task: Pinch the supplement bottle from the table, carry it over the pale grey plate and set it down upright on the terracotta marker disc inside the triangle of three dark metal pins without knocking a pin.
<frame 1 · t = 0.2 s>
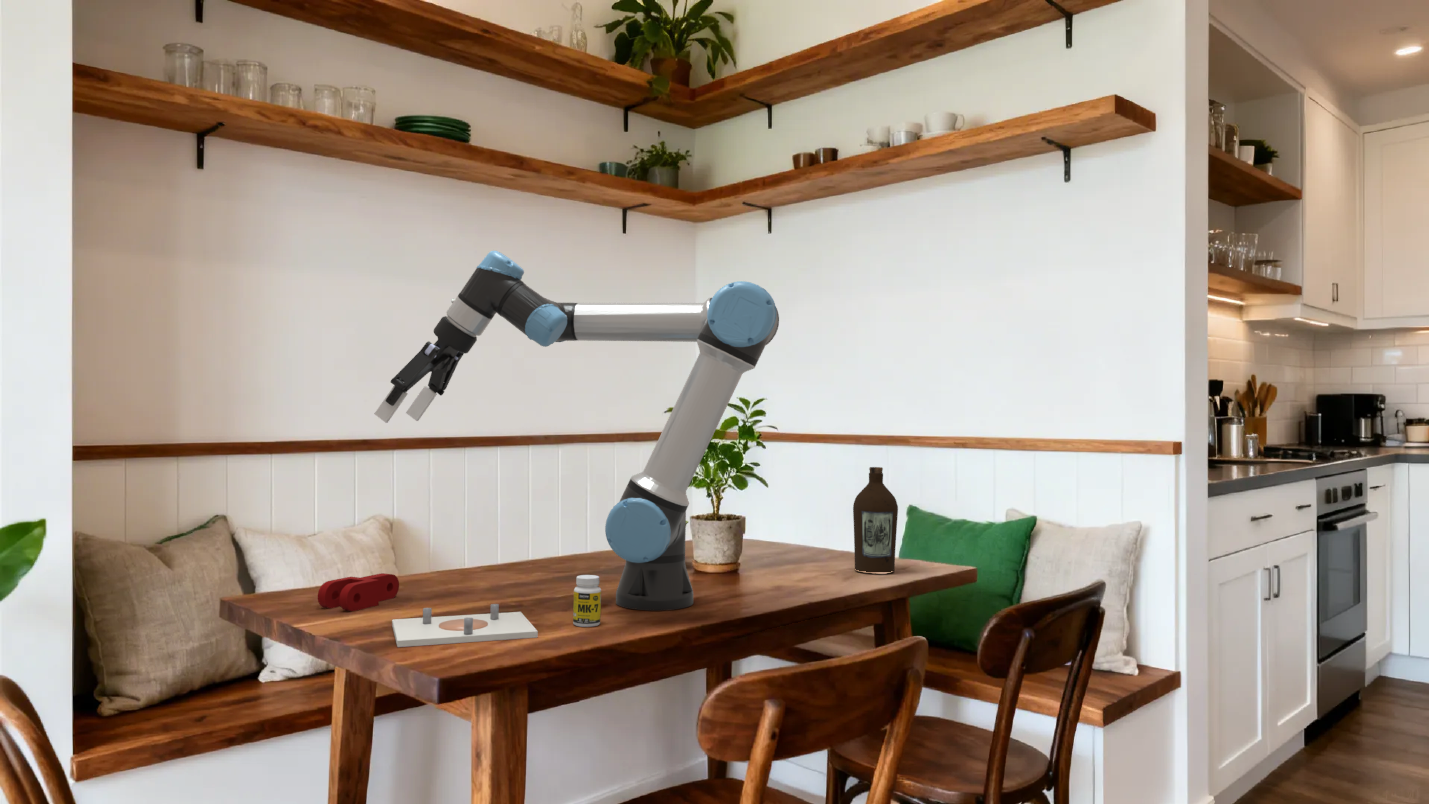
hand: (396, 417, 180), 36 cm above the table, tool tilted 35°, fingers open, 13 cm apart
plant pot: (663, 568, 230), on the table
mechanical linkage: (364, 605, 182), on the table
supplement bottle: (586, 625, 168), on the table
pin plate: (463, 631, 161), on the table
olive oil: (874, 572, 229), on the table
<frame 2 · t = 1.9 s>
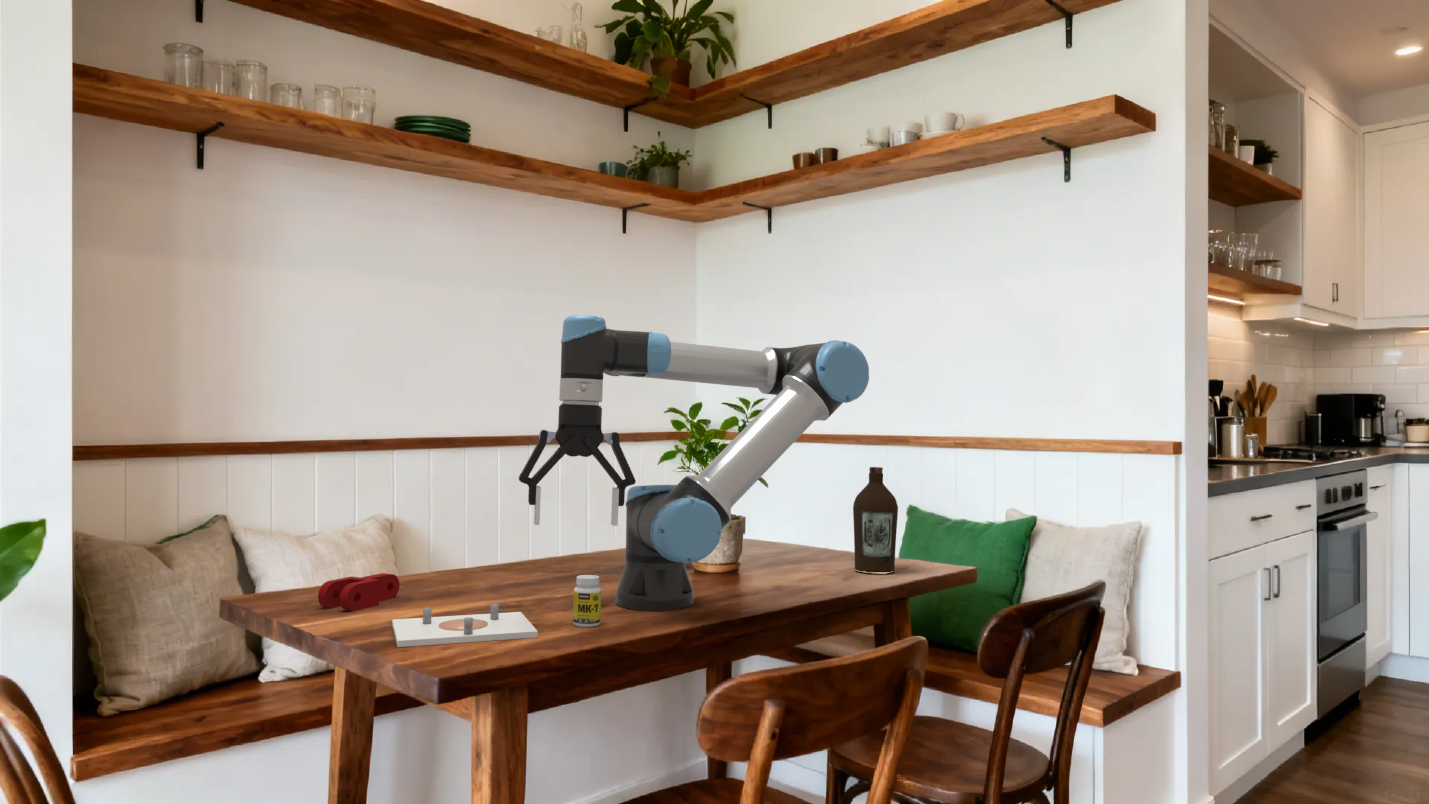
hand: (575, 524, 168), 17 cm above the table, tool pointing down, fingers open, 13 cm apart
nothing on the table moved.
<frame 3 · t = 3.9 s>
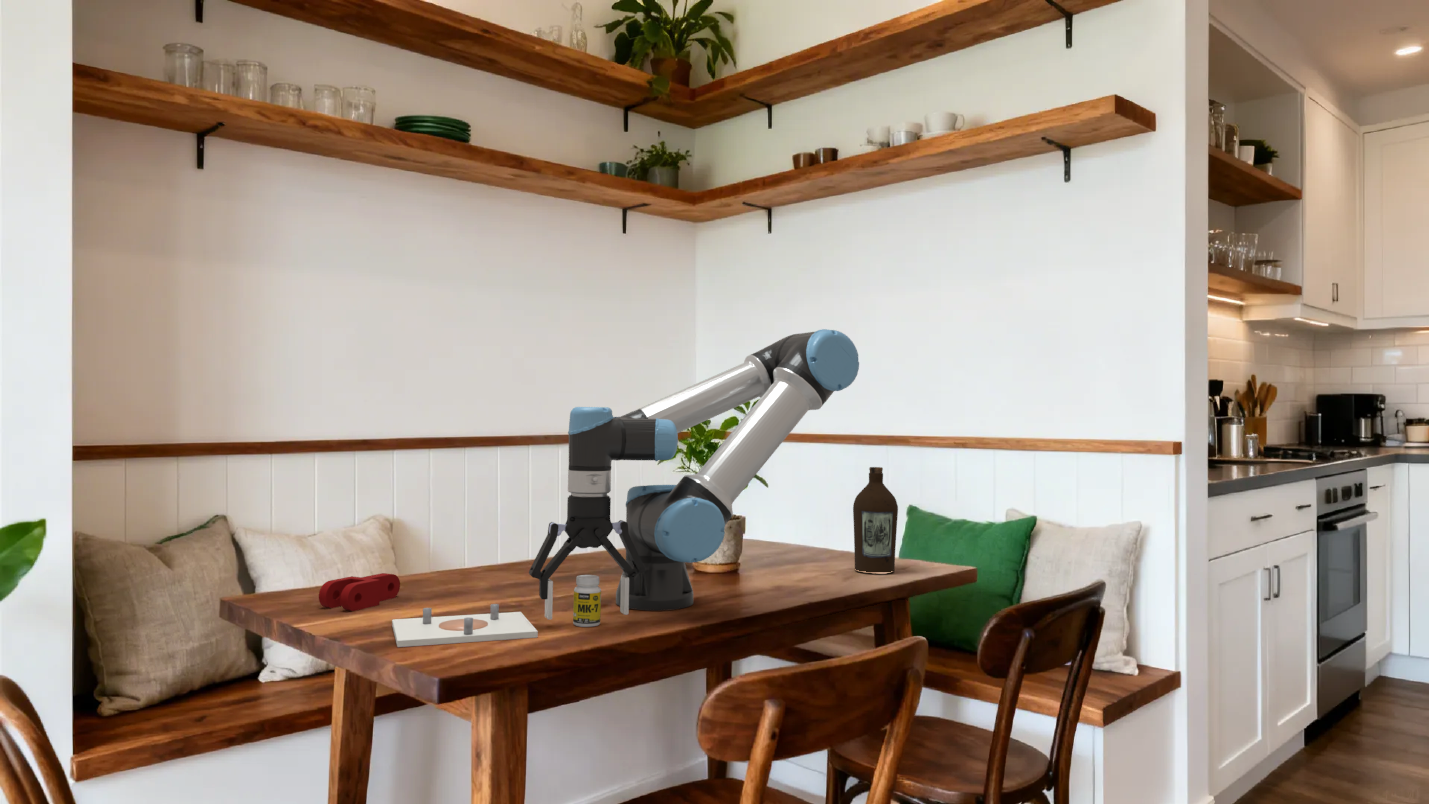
hand: (586, 615, 168), 2 cm above the table, tool pointing down, fingers open, 13 cm apart
nothing on the table moved.
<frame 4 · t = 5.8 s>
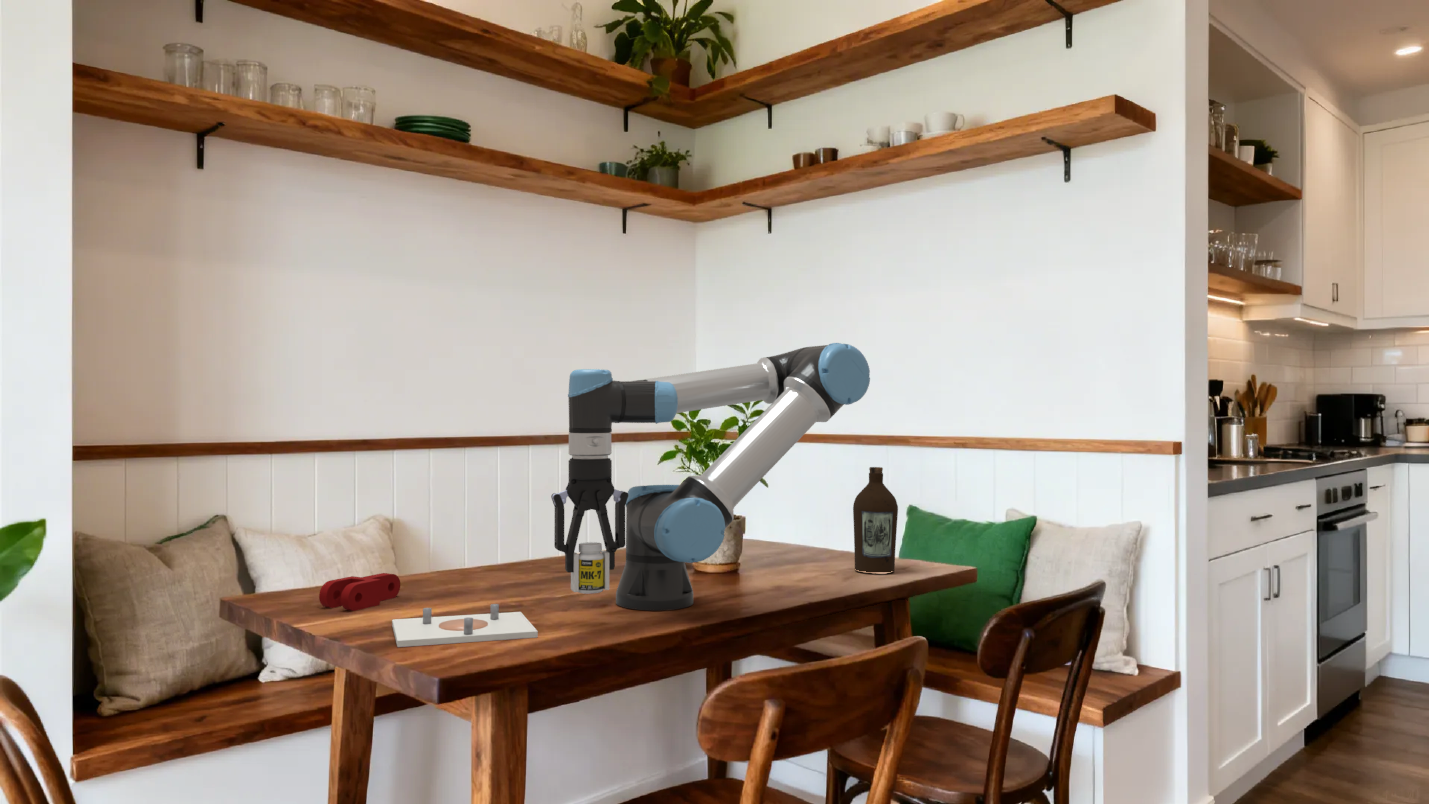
hand: (590, 589, 168), 6 cm above the table, tool pointing down, fingers closed on supplement bottle, 5 cm apart
supplement bottle: (590, 592, 168), point 6 cm above the table, touching gripper
everything else where it was.
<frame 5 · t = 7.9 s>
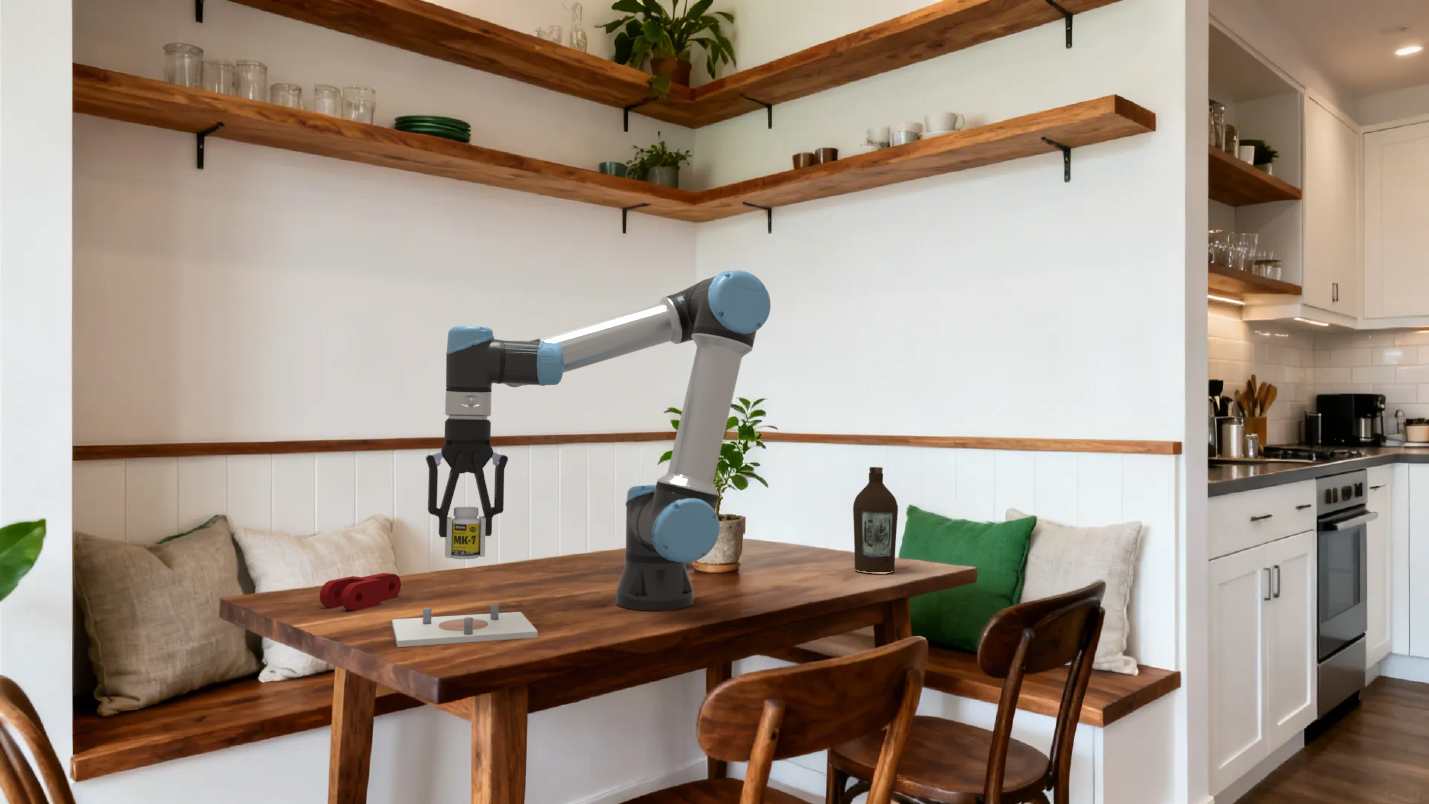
hand: (464, 555, 161), 13 cm above the table, tool pointing down, fingers closed on supplement bottle, 5 cm apart
supplement bottle: (464, 558, 161), point 12 cm above the table, touching gripper
everything else where it was.
when the fingers open (2 cm above the table, at t = 10.4 s): supplement bottle stays where it is, resting on pin plate.
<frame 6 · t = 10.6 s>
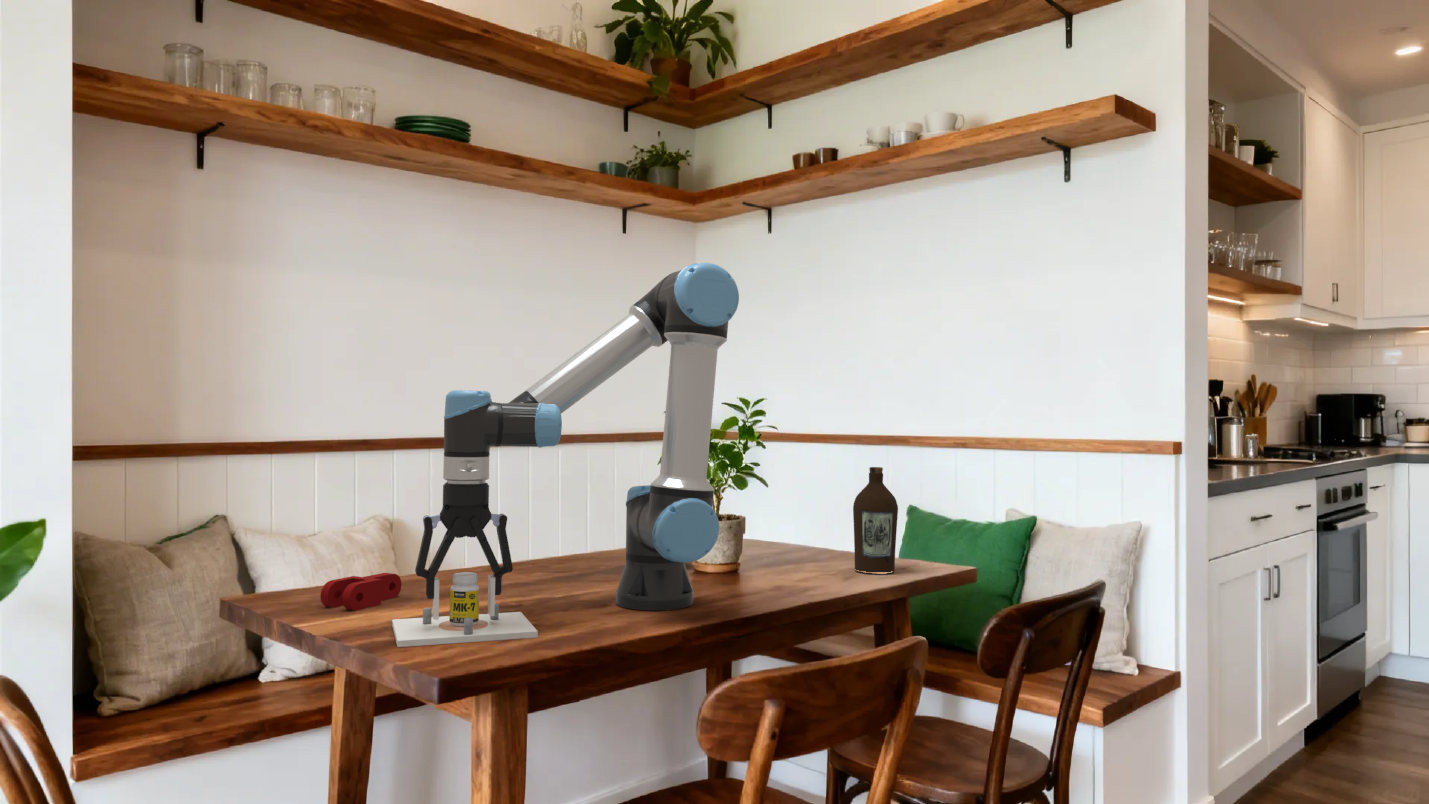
hand: (463, 616, 161), 3 cm above the table, tool pointing down, fingers open, 8 cm apart
supplement bottle: (464, 625, 161), point 1 cm above the table, touching pin plate
everything else where it was.
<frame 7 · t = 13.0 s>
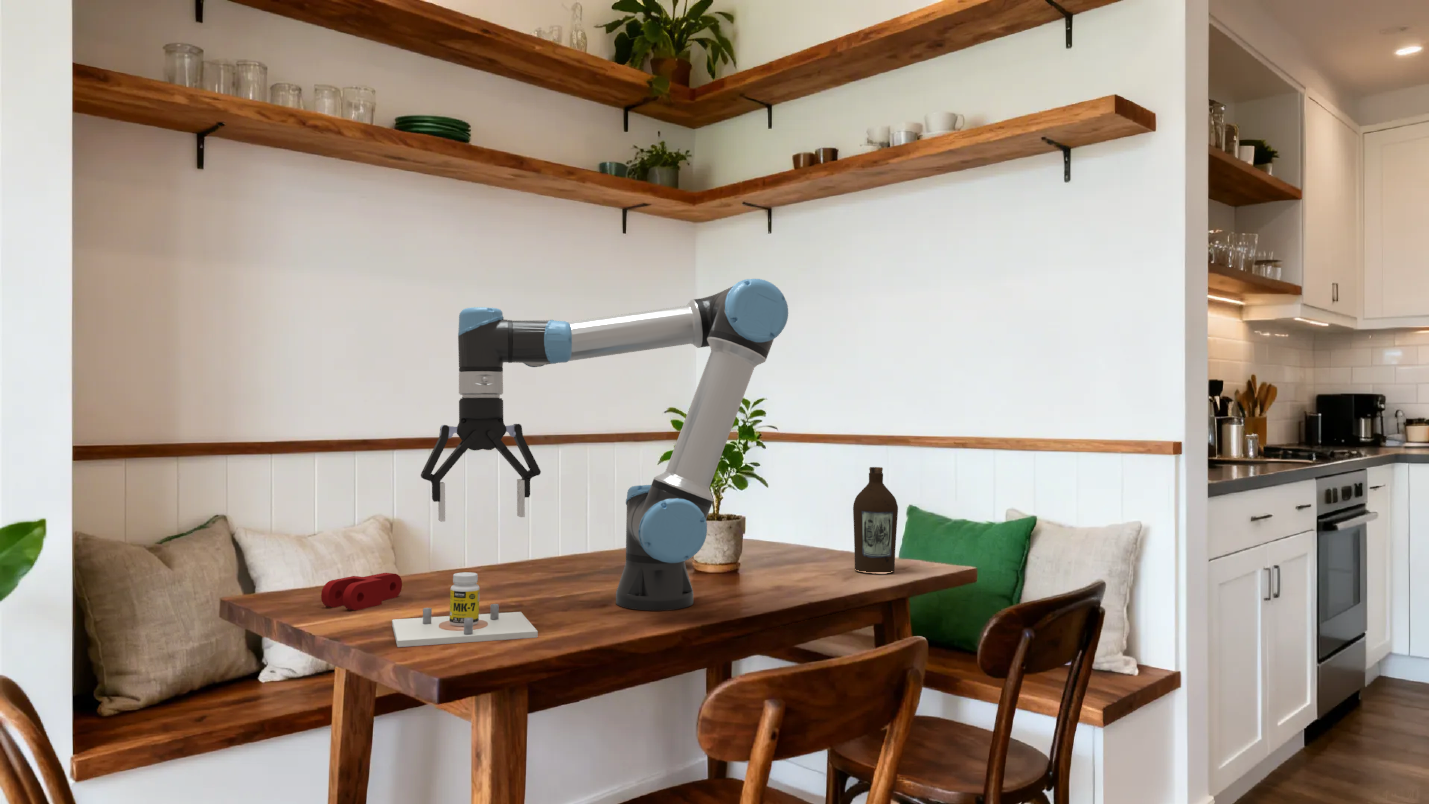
hand: (482, 518, 167), 18 cm above the table, tool pointing down, fingers open, 13 cm apart
nothing on the table moved.
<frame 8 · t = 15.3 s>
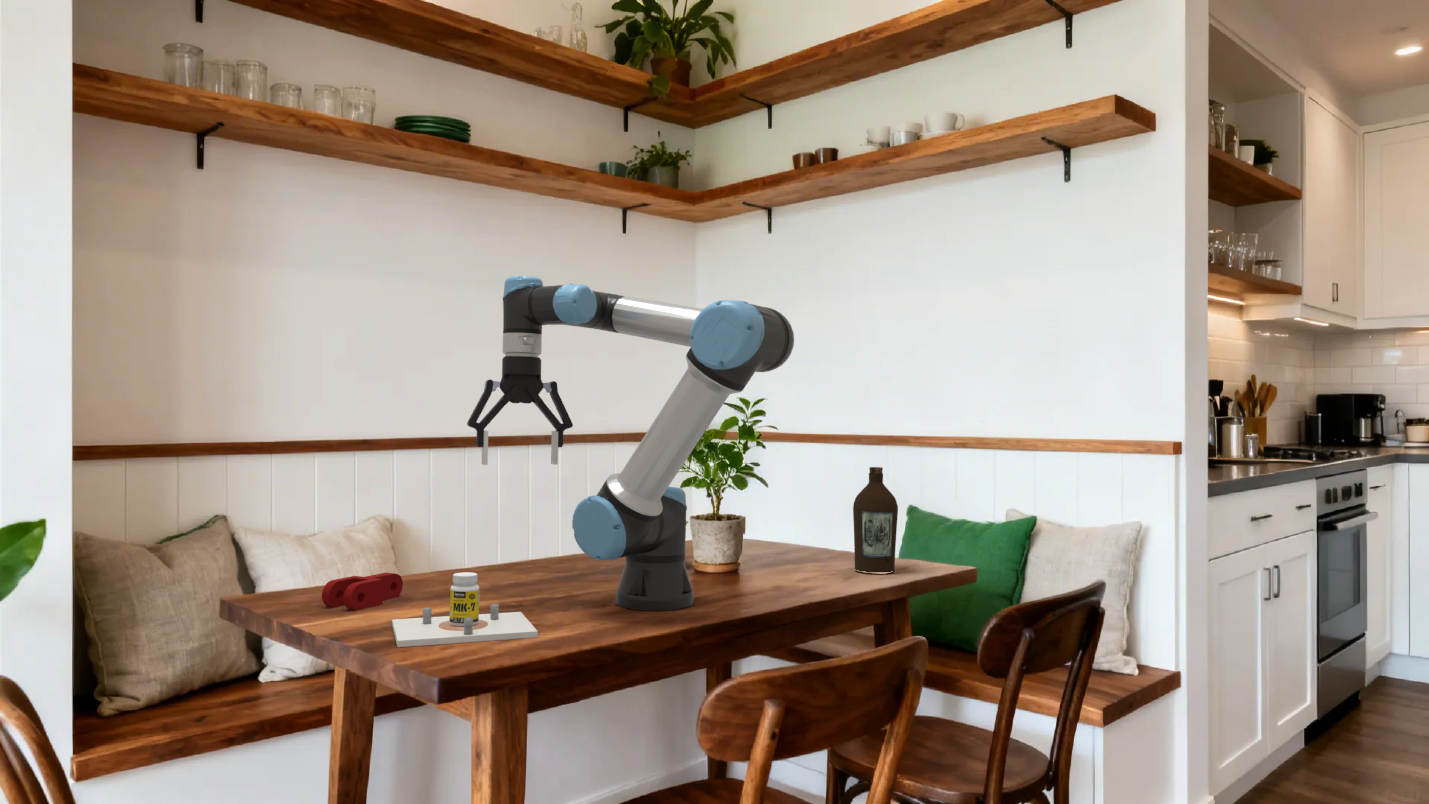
hand: (519, 464, 187), 27 cm above the table, tool pointing down, fingers open, 13 cm apart
nothing on the table moved.
at the end: supplement bottle 0.1 cm from the pin plate (horizontally); supplement bottle tilted 0°; supplement bottle touching pin plate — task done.
